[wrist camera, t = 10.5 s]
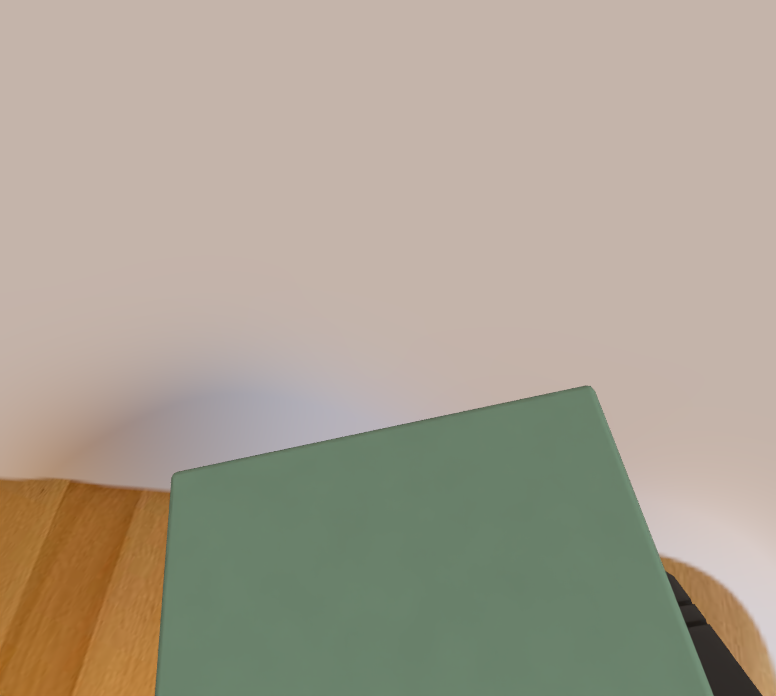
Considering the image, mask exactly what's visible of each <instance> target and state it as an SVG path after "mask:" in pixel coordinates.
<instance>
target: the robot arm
mask: <svg viewBox="0 0 776 696" xmlns="http://www.w3.org/2000/svg"><path fill="white" fill-rule="evenodd" d="M665 572H666V571H665ZM666 575H667V577H668V580H669V582H670V585H671V588H672V590H673V593H674V595H675V598H676V600H677V603H678V606H679V608H680V611H681V613H682V616H683V618H684V621H685V623H686V626H687V629H688V631H689V634H690V636H691V639H692V641H693V644H694V647H695V649H696V652H697V654H698V657H699V659H700V662H701V665H702V667H703V670H704V672H705V675H706V677H707V680H708V682H709V685H710V688H711V690H712V693H713V695H714V696H762V694H761V693H760V692H759V690H758V689H757V688H756V686H755V685H754V684H753V682H752V681H751V680H750V678H749V677H748V676H747V674H746V673H745V672H744V670H743V669H742V668H741V666H740V665H739V663H738V662H737V661H736V659H735V658H734V657H733V655H732V654H731V653H730V651H729V650H728V649H727V647H726V646H725V645H724V643H723V642H722V641H721V639H720V638H719V637H718V635H717V634H716V633H715V631H714V630H713V629H712V627H711V626H710V624H707V622H706V619H705V618H704V616H703V615H702V614H701V612H700V611H699V610H698V608H697V607H696V606H695V604H692V602H691V599H690V598H689V596H688V595H687V594H686V592H685V591H684V589H683V588H682V587H681V585H680V584H679V583H678V581H677V580H676V579H675V577H674V576H672V575H671V574H669V573H668V572H666Z"/></svg>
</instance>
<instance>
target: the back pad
mask: <svg viewBox="0 0 776 696" xmlns="http://www.w3.org/2000/svg"><path fill="white" fill-rule="evenodd" d="M155 696H714V695H713V693H712V690H711V688H710V685H709V682H708V680H707V677H706V675H705V672H704V670H703V667H702V665H701V662H700V659H699V657H698V654H697V652H696V649H695V647H694V644H693V641H692V639H691V636H690V634H689V631H688V629H687V626H686V623H685V621H684V618H683V616H682V613H681V611H680V608H679V606H678V603H677V600H676V598H675V595H674V593H673V590H672V588H671V585H670V582H669V580H668V577H667V575H666V572H665V570H664V567H663V564H662V562H661V559H660V557H659V554H658V552H657V549H656V547H655V544H654V542H653V539H652V536H651V534H650V531H649V529H648V526H647V523H646V521H645V518H644V516H643V513H642V511H641V508H640V505H639V503H638V500H637V498H636V495H635V493H634V490H633V488H632V485H631V483H630V480H629V477H628V475H627V472H626V469H625V467H624V465H623V462H622V459H621V457H620V454H619V452H618V449H617V446H616V444H615V441H614V439H613V436H612V434H611V431H610V429H609V426H608V423H607V421H606V418H605V416H604V413H603V410H602V408H601V405H600V403H599V400H598V398H597V395H596V392H595V391H594V390H593V389H592V387H591V386H582V387H577V388H572V389H568V390H563V391H558V392H553V393H549V394H544V395H539V396H534V397H530V398H525V399H520V400H516V401H511V402H507V403H502V404H497V405H492V406H487V407H483V408H478V409H473V410H468V411H463V412H459V413H454V414H449V415H445V416H440V417H435V418H430V419H426V420H421V421H416V422H412V423H407V424H402V425H397V426H393V427H388V428H383V429H378V430H374V431H369V432H364V433H359V434H355V435H350V436H345V437H340V438H336V439H331V440H326V441H321V442H317V443H312V444H307V445H303V446H298V447H293V448H288V449H284V450H280V451H274V452H269V453H265V454H260V455H255V456H250V457H246V458H241V459H236V460H232V461H227V462H222V463H218V464H213V465H208V466H203V467H199V468H194V469H189V470H184V471H179V472H176V473H174V474H173V476H172V479H171V492H170V505H169V518H168V531H167V544H166V557H165V571H164V584H163V597H162V610H161V623H160V636H159V649H158V662H157V675H156V688H155Z"/></svg>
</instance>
